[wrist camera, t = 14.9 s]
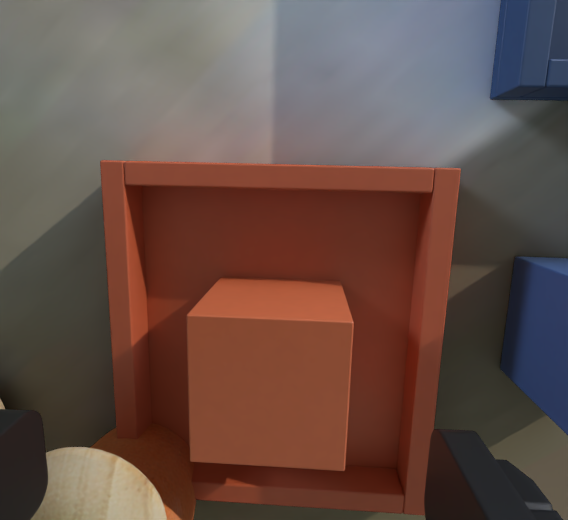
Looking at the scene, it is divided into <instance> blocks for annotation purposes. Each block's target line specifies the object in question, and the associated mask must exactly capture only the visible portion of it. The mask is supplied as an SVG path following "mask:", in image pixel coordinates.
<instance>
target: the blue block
mask: <svg viewBox="0 0 568 520" xmlns="http://www.w3.org/2000/svg"><path fill="white" fill-rule="evenodd" d="M500 369H501V370H502V371H503V372H504V373H505V374H506V375H507V376H508V377H509V378H510V379H511V380H512V381H513V382H514V383H515V384H516V385H517V386H518V387H519V388H520V389H521V390H522V391H523V392H524V393H525V394H526V395H527V396H528V397H529V398H530V399H531V400H532V401H533V402H534V403H535V404H536V405H537V406H538V407H539V408H540V409H541V410H542V411H543V412H544V413H546V414H547V415H548V416H549V417H550V418H551V419H552V420H553V421H554V422H555V423H556V424H557V425H558V426H559V427H560V428H561V429H562V430H563V431H564V432H565V433H566V434H567V435H568V258H549V257H518V256H517V257H515V261H514V268H513V276H512V283H511V291H510V298H509V306H508V313H507V320H506V328H505V335H504V343H503V350H502V358H501V365H500Z"/></svg>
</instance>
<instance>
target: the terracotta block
mask: <svg viewBox="0 0 568 520" xmlns="http://www.w3.org/2000/svg"><path fill="white" fill-rule="evenodd" d="M353 328H354V322H353V319H352V316H351V313H350V309H349V306H348V303H347V300H346V297H345V294H344V291H343V287H342V284H341V282H340V281H326V280H299V279H272V278H246V277H221V278H220V279H219V280H218V281H217V282H216V283H215V284H214V285H213V287H212V288H211V289H210V290H209V291H208V292H207V293H206V294H205V295H204V296H203V298H202V299H201V300H200V301H199V302H198V303H197V304H196V305H195V306H194V307H193V308H192V310H191V311H190V312H189V313H188V314H187V358H188V402H189V446H190V461H191V462H204V463H220V464H236V465H252V466H268V467H284V468H300V469H316V470H332V471H344V470H345V462H346V445H347V428H348V412H349V395H350V378H351V362H352V345H353Z"/></svg>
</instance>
